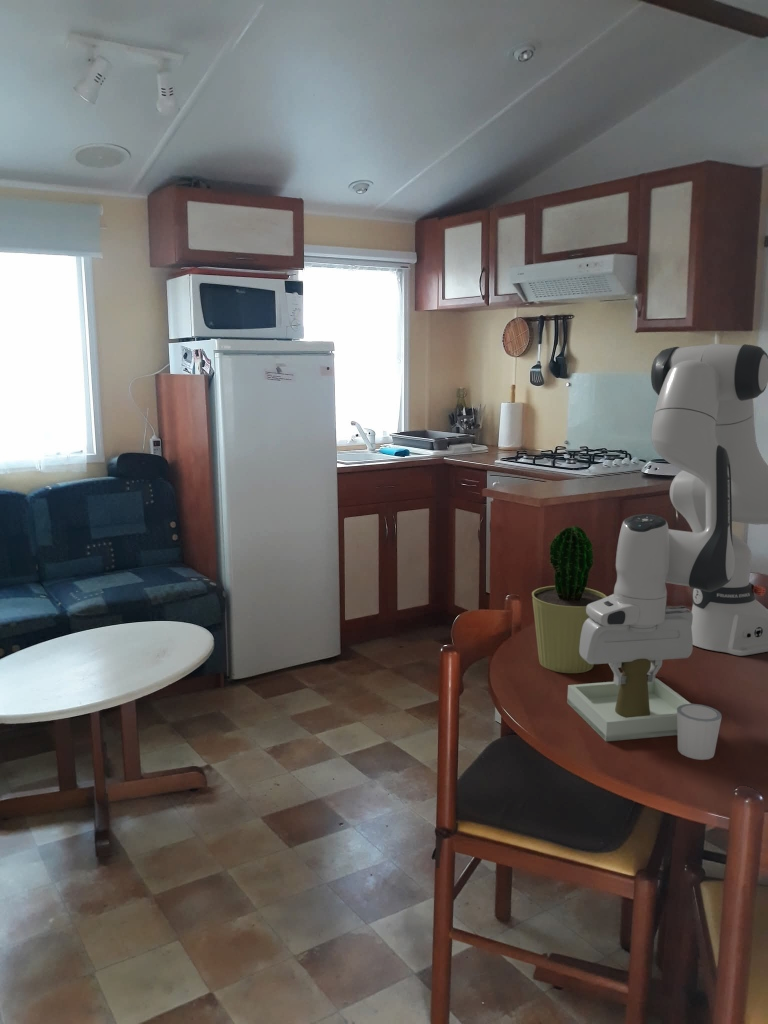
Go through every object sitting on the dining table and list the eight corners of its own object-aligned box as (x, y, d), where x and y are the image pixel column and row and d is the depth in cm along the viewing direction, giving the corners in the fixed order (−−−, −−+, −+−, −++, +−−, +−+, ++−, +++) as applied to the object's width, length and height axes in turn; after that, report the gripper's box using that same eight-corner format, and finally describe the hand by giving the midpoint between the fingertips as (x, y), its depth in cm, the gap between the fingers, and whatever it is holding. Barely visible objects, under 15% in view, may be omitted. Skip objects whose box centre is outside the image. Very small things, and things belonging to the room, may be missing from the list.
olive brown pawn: (645, 705, 152) (649, 648, 150) (653, 719, 146) (657, 660, 144) (612, 704, 153) (615, 647, 150) (618, 718, 147) (621, 659, 144)
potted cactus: (578, 647, 185) (584, 514, 179) (618, 671, 171) (627, 528, 165) (516, 654, 180) (521, 518, 174) (552, 681, 166) (559, 533, 160)
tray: (655, 695, 159) (656, 678, 158) (702, 732, 144) (704, 713, 143) (567, 702, 156) (568, 685, 155) (605, 741, 140) (606, 722, 140)
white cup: (727, 757, 135) (731, 717, 134) (692, 764, 133) (696, 723, 131) (698, 739, 141) (701, 700, 140) (664, 745, 139) (667, 706, 138)
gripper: (683, 600, 151) (677, 672, 153) (577, 605, 147) (573, 680, 149) (703, 610, 145) (696, 686, 147) (593, 616, 141) (588, 694, 143)
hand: (633, 683), depth 148 cm, fingers closed on olive brown pawn, 4 cm apart
